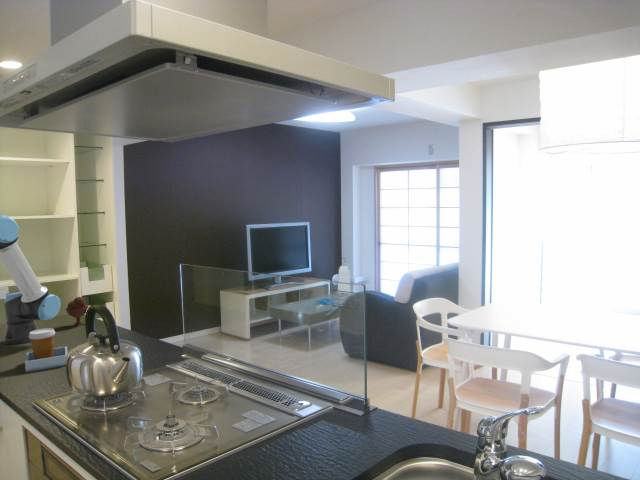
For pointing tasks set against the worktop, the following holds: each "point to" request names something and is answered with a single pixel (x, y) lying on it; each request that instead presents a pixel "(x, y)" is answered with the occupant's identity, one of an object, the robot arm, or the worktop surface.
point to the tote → (46, 360)
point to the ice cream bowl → (77, 309)
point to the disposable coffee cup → (42, 343)
